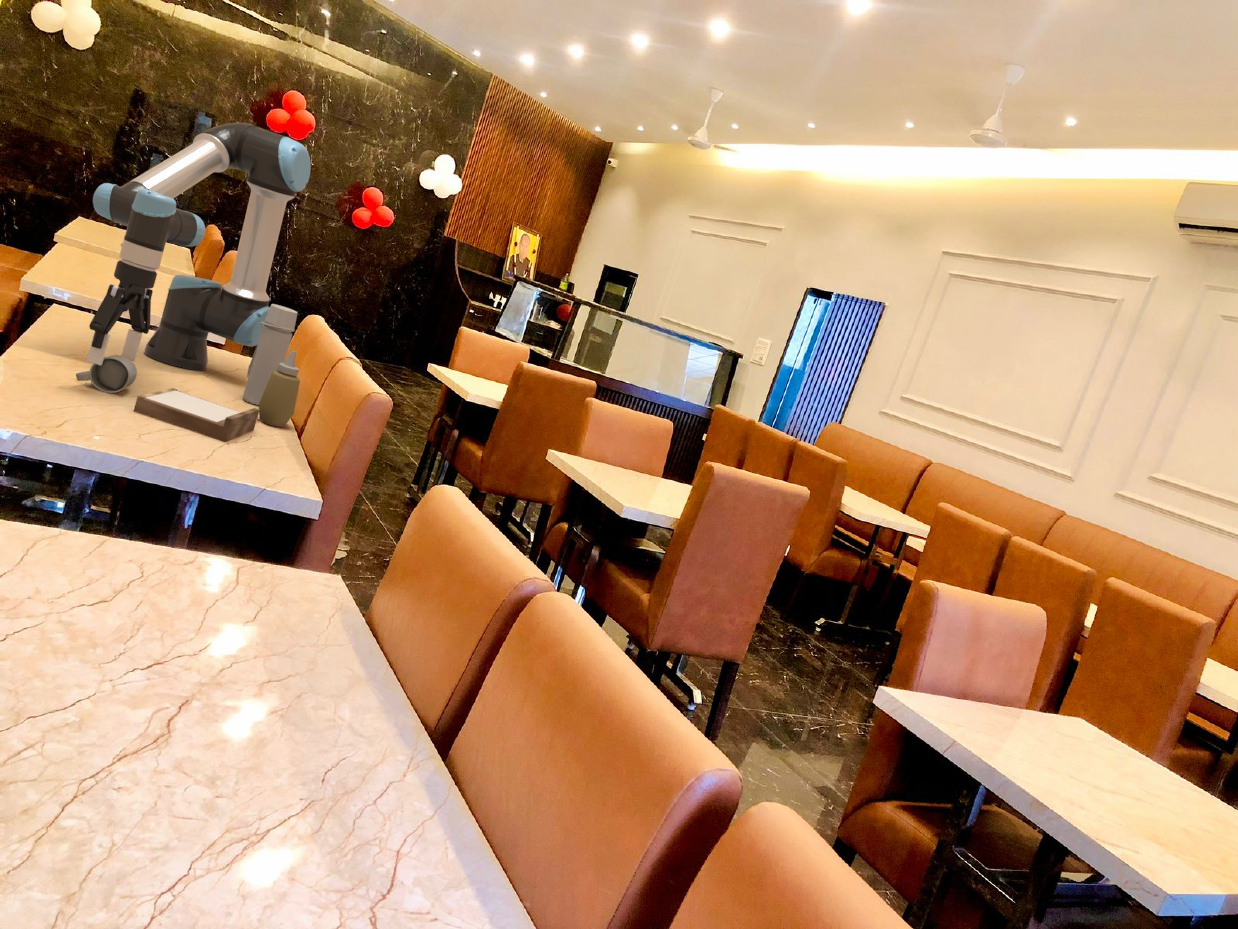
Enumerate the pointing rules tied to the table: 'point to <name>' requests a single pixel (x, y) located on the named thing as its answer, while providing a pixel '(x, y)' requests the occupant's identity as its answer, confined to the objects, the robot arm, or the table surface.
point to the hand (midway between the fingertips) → (111, 361)
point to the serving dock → (198, 419)
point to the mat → (193, 405)
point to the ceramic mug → (110, 374)
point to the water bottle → (269, 350)
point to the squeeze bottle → (280, 394)
